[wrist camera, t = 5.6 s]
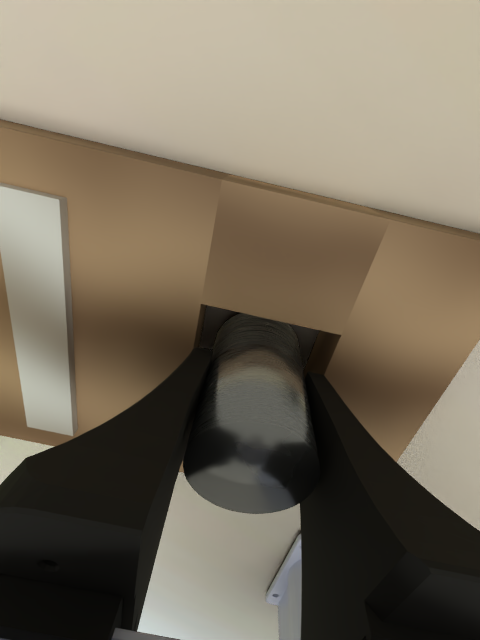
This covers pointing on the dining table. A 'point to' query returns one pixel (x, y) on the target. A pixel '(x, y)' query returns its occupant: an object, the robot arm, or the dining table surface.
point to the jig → (211, 285)
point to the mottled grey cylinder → (253, 421)
